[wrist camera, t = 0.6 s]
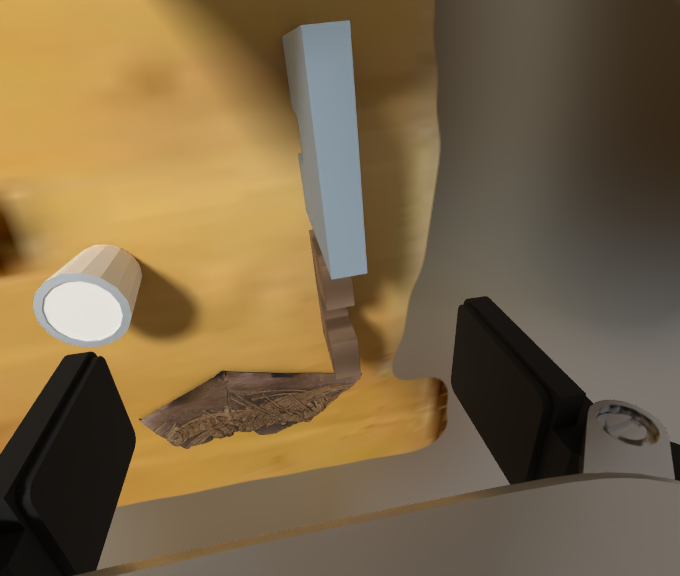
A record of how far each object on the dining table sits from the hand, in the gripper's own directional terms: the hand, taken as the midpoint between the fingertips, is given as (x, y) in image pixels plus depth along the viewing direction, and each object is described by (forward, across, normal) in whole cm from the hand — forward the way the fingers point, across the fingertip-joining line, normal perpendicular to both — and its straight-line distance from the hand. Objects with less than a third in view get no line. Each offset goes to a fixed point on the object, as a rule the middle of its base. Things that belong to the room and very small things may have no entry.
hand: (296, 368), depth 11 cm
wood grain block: (+29, -4, +13) cm, 32 cm away
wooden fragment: (+30, +5, +28) cm, 41 cm away
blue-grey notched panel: (+29, -4, -2) cm, 29 cm away
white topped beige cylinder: (+29, +16, +9) cm, 34 cm away
